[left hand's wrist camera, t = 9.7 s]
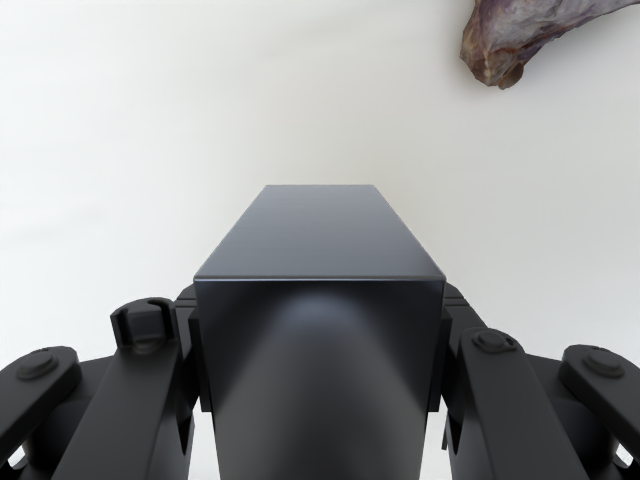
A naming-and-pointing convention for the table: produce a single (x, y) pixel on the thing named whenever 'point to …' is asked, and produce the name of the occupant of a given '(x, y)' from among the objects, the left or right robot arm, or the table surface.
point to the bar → (319, 337)
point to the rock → (521, 33)
